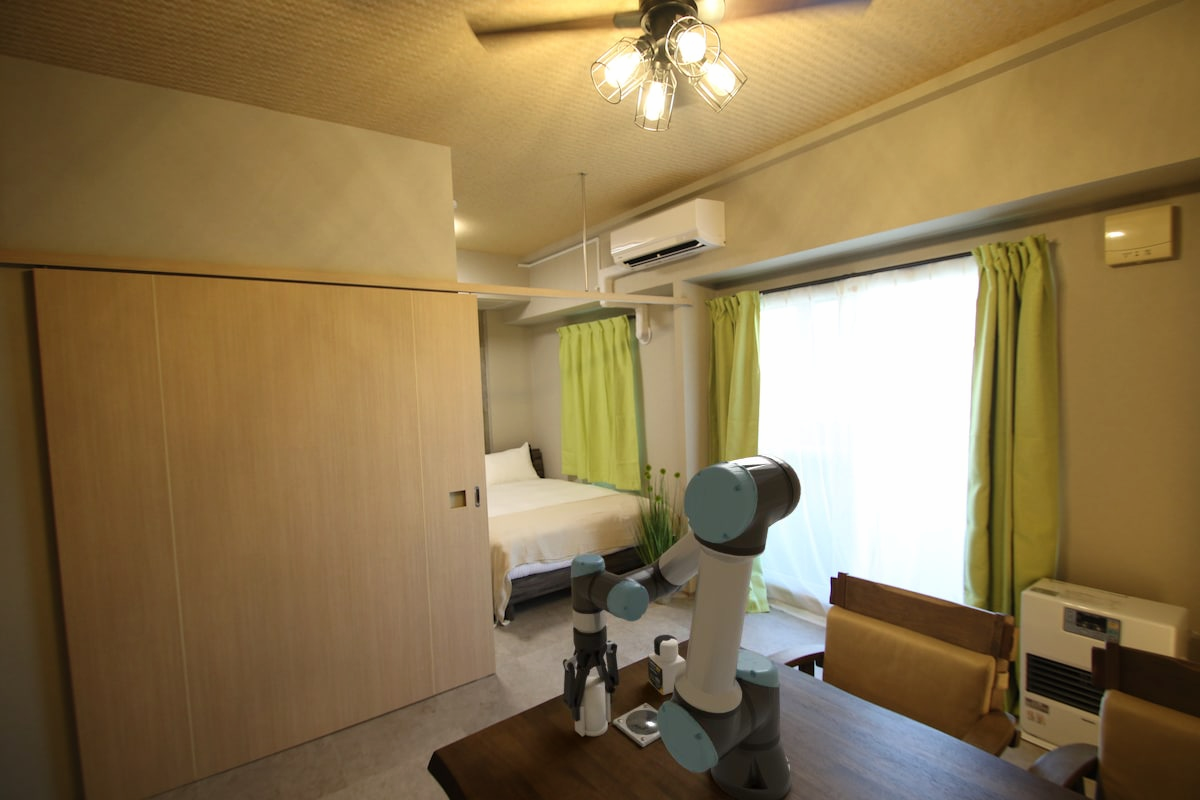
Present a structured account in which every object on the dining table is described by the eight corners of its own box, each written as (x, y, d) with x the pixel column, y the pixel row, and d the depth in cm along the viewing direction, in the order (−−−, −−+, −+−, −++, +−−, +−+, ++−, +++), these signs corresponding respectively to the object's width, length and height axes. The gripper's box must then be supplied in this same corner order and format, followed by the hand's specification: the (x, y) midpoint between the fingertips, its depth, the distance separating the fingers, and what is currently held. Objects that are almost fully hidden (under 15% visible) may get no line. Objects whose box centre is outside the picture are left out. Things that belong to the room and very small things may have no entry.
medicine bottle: (648, 681, 135) (646, 635, 135) (671, 674, 138) (670, 629, 138) (662, 696, 129) (661, 648, 128) (687, 687, 132) (685, 641, 131)
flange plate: (676, 727, 117) (676, 723, 117) (642, 747, 111) (642, 743, 111) (646, 706, 125) (645, 702, 125) (613, 723, 119) (613, 719, 119)
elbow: (613, 728, 118) (611, 684, 117) (591, 740, 114) (589, 695, 114) (588, 708, 125) (587, 667, 125) (566, 719, 122) (565, 676, 121)
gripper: (613, 607, 126) (616, 700, 127) (543, 633, 115) (547, 735, 116) (633, 618, 120) (636, 715, 121) (562, 646, 109) (566, 754, 110)
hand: (593, 725), depth 119 cm, fingers open, 7 cm apart
